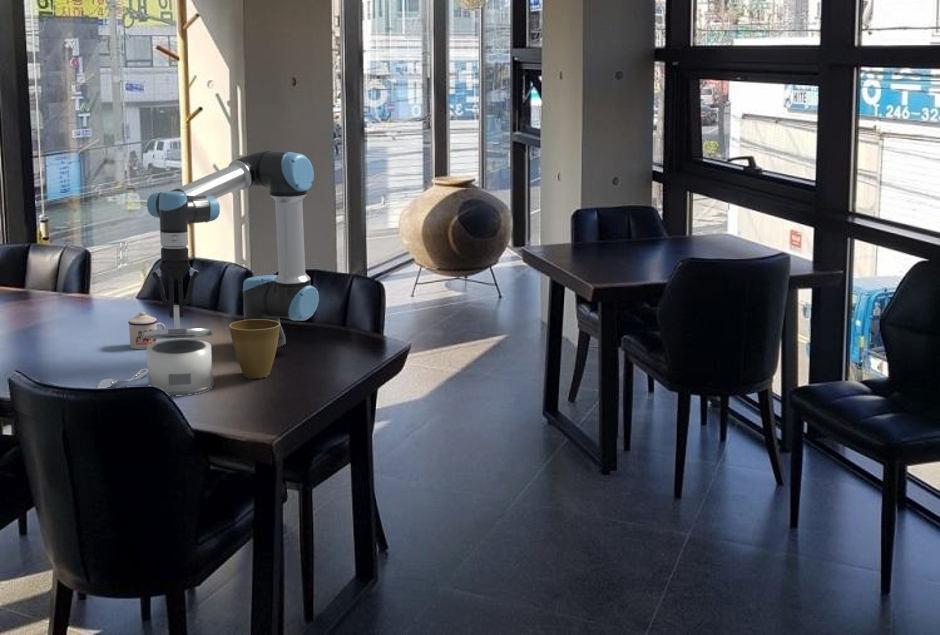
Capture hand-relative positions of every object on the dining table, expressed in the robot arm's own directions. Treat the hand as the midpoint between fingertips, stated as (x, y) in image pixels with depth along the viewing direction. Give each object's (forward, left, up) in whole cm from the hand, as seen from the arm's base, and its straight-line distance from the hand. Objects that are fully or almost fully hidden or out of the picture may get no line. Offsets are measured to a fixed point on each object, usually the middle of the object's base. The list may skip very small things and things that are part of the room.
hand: (177, 328), depth 315 cm
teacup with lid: (+11, -50, -18) cm, 55 cm away
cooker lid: (0, 0, -2) cm, 2 cm away
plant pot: (-22, -8, -18) cm, 30 cm away
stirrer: (+16, -9, -18) cm, 26 cm away
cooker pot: (0, 0, -18) cm, 18 cm away
